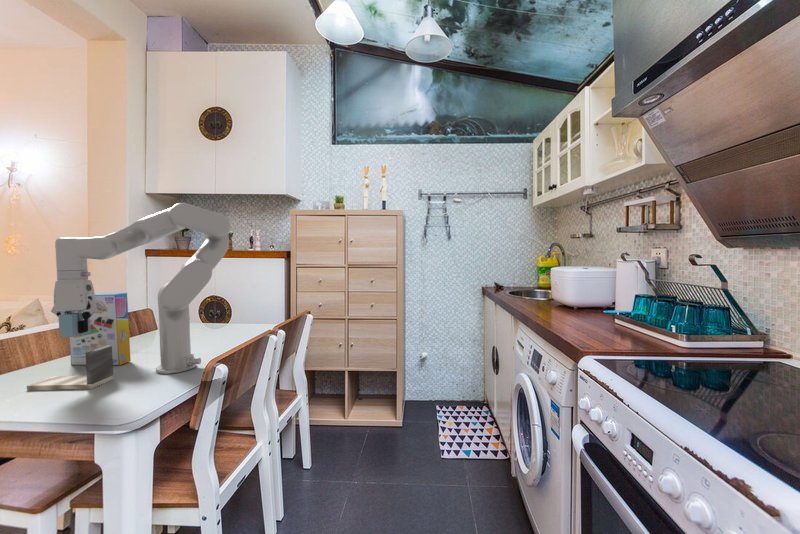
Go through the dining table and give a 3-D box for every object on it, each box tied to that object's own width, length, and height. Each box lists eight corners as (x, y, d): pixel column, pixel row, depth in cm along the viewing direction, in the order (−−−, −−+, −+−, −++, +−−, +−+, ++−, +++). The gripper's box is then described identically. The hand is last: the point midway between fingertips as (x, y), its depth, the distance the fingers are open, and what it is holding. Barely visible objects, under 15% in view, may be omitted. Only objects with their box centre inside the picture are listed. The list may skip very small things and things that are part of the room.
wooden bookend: (113, 379, 127) (111, 345, 126) (92, 389, 118) (90, 352, 117) (52, 380, 126) (51, 346, 126) (26, 390, 117) (24, 354, 117)
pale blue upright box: (90, 332, 125) (89, 311, 124) (72, 337, 118) (71, 314, 117) (78, 332, 125) (77, 311, 124) (59, 337, 118) (58, 315, 117)
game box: (131, 361, 147) (128, 292, 146) (119, 366, 142) (116, 294, 141) (83, 361, 150) (79, 292, 148) (69, 365, 144) (66, 294, 143)
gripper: (108, 274, 125) (110, 329, 125) (56, 275, 124) (59, 330, 125) (89, 276, 117) (92, 334, 118) (35, 277, 117) (38, 335, 117)
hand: (75, 331), depth 121 cm, fingers closed on pale blue upright box, 4 cm apart
